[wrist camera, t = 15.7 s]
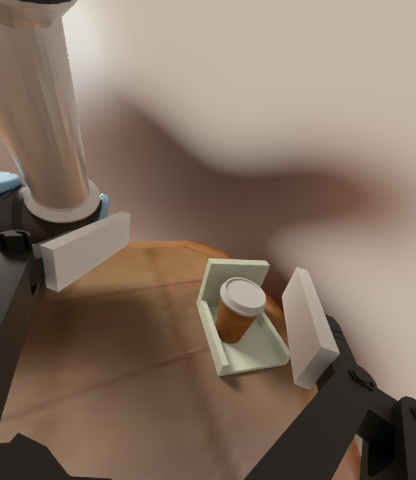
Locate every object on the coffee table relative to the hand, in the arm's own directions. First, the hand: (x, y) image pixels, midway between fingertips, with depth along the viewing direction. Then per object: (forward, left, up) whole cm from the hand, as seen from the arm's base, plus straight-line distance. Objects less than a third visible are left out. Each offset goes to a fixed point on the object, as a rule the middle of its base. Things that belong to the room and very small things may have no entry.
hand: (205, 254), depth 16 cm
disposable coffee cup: (-15, +16, -29) cm, 37 cm away
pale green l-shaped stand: (-14, +19, -30) cm, 38 cm away
